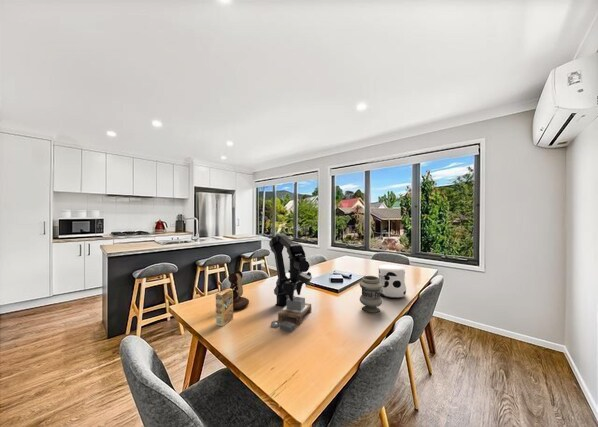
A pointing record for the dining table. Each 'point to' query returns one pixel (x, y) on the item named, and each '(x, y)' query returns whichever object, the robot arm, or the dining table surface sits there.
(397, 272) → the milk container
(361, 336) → the dining table surface
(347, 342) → the dining table surface
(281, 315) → the walnut stand
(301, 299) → the housing
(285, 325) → the rubber block
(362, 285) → the apothecary jar
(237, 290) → the brown wooden figurine
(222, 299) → the candy box
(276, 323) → the steel nut
